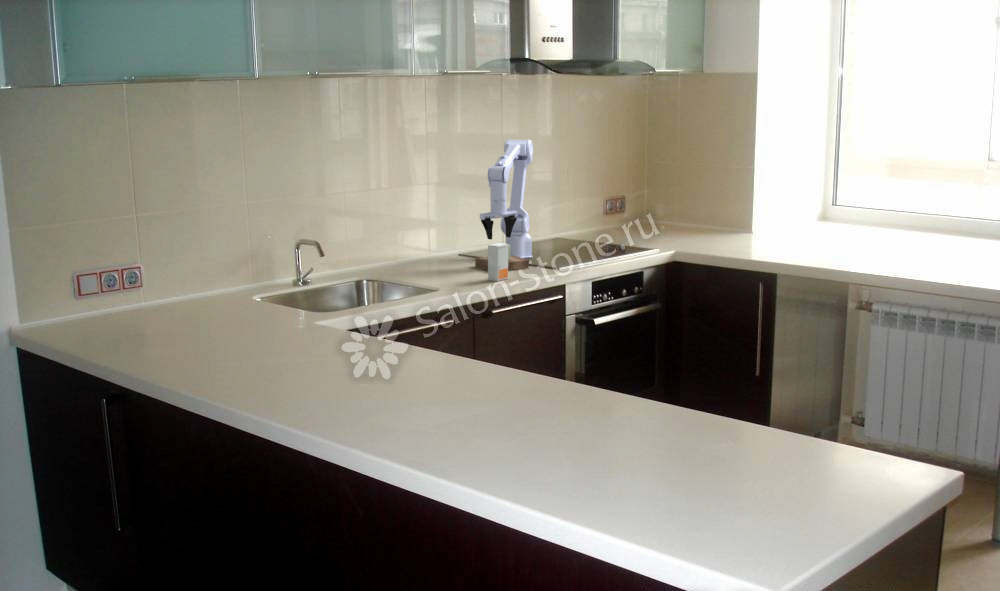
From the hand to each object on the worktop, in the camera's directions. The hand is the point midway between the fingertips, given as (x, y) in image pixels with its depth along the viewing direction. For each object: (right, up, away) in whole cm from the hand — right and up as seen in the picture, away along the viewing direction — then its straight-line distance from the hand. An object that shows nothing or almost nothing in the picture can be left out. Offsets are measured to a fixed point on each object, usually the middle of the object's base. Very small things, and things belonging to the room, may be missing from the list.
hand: (499, 238), depth 355 cm
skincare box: (0, -15, -20) cm, 25 cm away
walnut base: (+1, -10, +1) cm, 10 cm away
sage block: (+1, -7, 0) cm, 7 cm away
